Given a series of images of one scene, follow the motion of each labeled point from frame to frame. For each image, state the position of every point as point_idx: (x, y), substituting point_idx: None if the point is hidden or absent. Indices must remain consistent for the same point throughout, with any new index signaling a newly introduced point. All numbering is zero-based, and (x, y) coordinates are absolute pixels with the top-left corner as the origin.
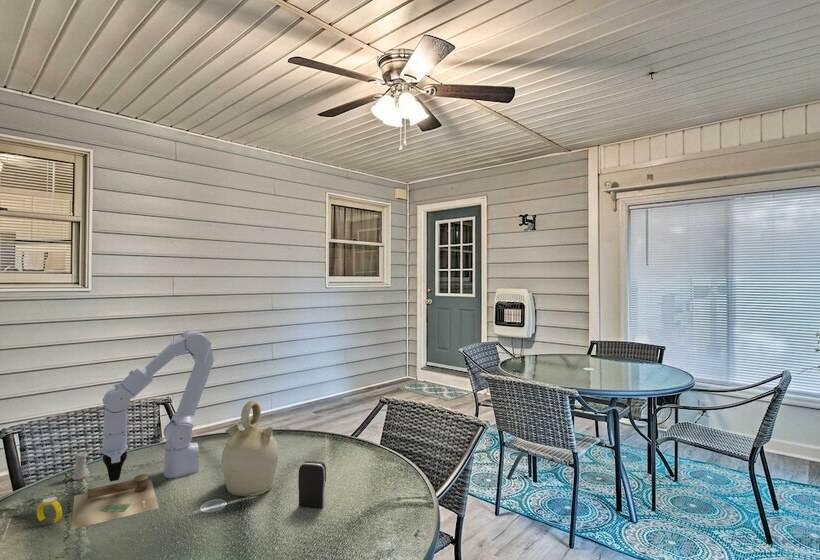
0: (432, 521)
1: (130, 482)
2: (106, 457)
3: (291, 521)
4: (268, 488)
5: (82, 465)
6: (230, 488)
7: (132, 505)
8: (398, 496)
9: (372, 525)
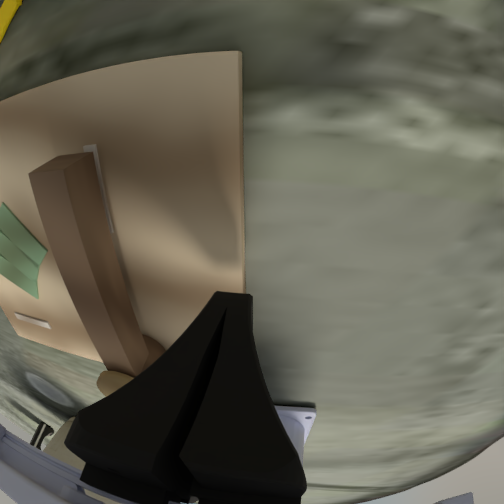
0: (25, 431)
1: (104, 357)
2: (123, 470)
3: (12, 400)
4: None
5: None
6: (67, 428)
7: (28, 297)
8: None
9: (14, 417)
